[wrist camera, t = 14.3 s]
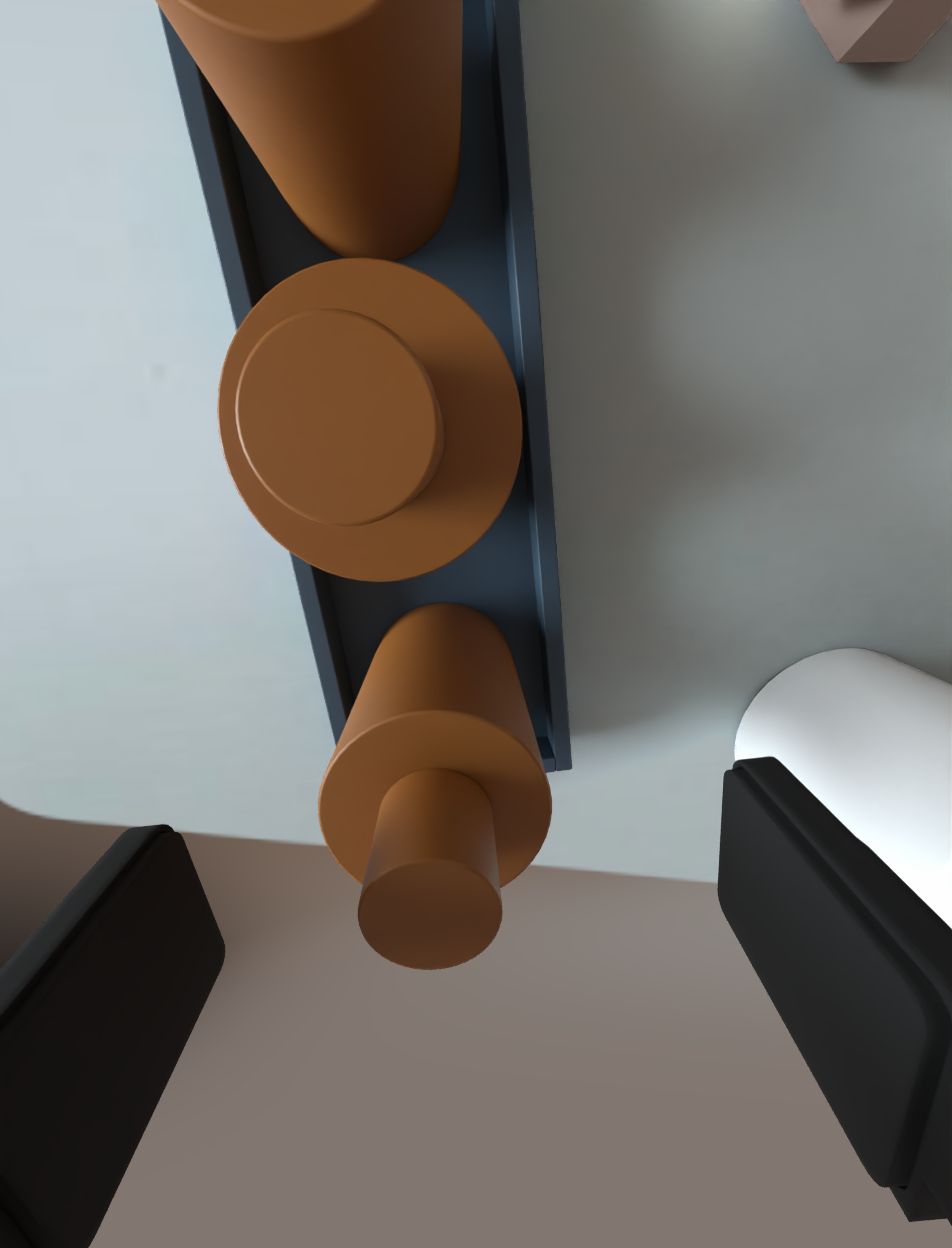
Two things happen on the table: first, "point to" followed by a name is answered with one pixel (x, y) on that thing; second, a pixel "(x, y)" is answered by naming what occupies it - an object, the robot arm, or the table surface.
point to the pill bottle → (868, 756)
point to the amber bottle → (436, 788)
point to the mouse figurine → (876, 27)
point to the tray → (507, 302)
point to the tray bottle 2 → (369, 419)
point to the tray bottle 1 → (342, 108)
